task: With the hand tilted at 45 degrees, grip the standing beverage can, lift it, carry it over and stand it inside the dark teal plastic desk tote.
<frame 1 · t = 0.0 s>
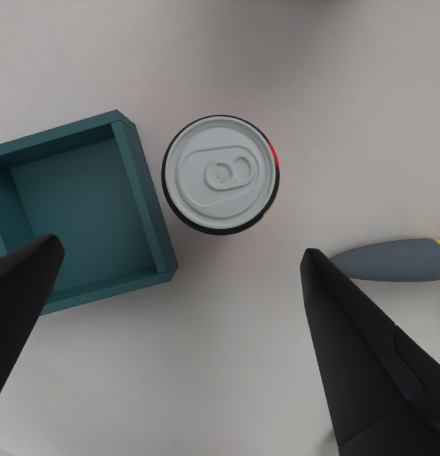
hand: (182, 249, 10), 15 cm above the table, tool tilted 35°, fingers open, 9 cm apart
beverage can: (220, 184, 24), on the table
tote: (93, 216, 24), on the table
paintbrush: (423, 257, 25), on the table
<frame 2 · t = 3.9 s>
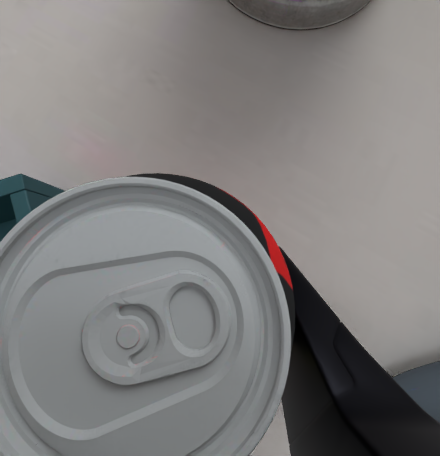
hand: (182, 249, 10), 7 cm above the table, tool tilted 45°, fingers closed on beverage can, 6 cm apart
beverage can: (195, 272, 16), on the table, touching gripper
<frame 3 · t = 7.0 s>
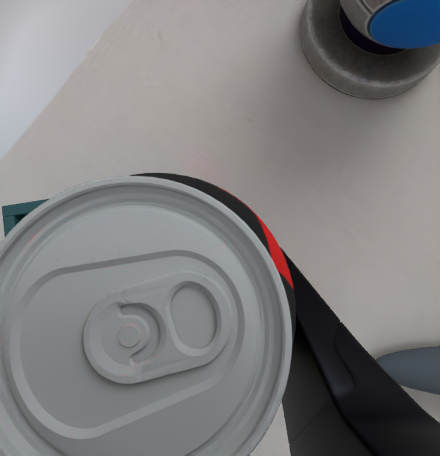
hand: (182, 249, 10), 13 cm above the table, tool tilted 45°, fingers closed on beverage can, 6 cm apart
beverage can: (195, 272, 16), point 6 cm above the table, touching gripper
tote: (121, 279, 22), on the table
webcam: (368, 35, 25), on the table
when the fingers open (7 cm above the table, at t = 10.4 s): beverage can stays where it is, resting on tote.
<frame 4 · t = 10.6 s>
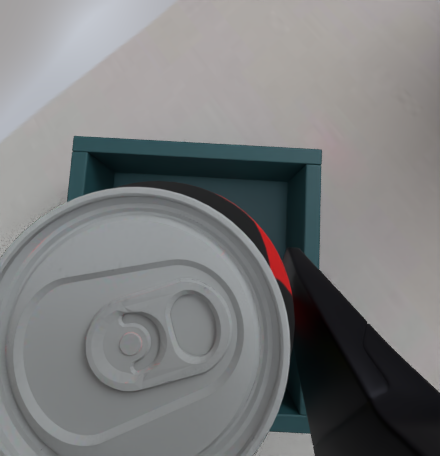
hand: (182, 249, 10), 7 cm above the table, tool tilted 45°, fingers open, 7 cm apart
beverage can: (195, 274, 16), resting on tote
tote: (196, 271, 17), on the table
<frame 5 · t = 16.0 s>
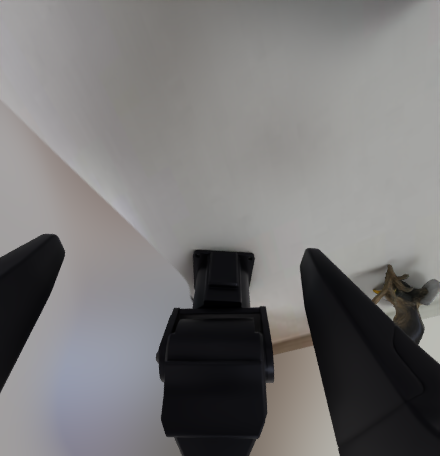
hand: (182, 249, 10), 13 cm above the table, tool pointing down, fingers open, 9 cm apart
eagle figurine: (392, 283, 31), on the table
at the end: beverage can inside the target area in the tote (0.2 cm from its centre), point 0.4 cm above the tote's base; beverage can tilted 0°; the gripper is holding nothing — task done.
